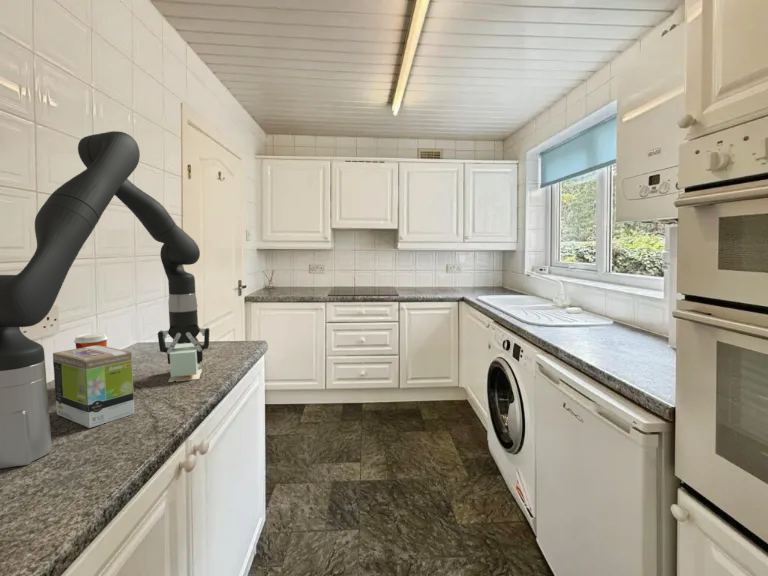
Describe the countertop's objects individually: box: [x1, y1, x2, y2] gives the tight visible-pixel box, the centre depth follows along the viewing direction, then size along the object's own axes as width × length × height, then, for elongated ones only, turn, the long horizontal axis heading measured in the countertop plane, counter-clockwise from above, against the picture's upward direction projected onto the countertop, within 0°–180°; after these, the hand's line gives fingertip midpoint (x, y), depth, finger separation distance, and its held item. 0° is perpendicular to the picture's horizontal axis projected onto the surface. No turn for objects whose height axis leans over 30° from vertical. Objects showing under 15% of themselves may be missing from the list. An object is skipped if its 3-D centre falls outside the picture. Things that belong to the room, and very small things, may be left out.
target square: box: [168, 368, 203, 383], centre depth 125 cm, size 10×8×1 cm
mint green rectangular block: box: [169, 342, 201, 377], centre depth 125 cm, size 12×7×7 cm, turn 19°
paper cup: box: [73, 332, 109, 349], centre depth 116 cm, size 8×8×14 cm
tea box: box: [52, 345, 135, 429], centre depth 95 cm, size 15×10×15 cm
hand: (185, 364), depth 125 cm, fingers closed on mint green rectangular block, 6 cm apart
